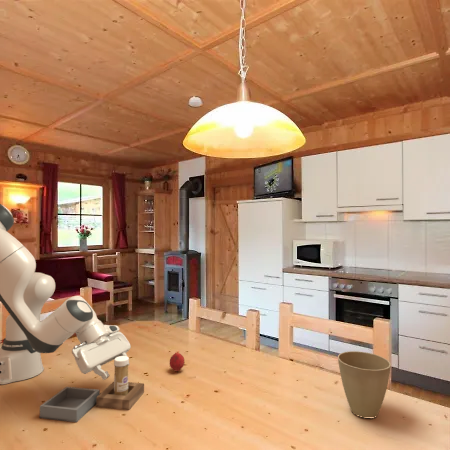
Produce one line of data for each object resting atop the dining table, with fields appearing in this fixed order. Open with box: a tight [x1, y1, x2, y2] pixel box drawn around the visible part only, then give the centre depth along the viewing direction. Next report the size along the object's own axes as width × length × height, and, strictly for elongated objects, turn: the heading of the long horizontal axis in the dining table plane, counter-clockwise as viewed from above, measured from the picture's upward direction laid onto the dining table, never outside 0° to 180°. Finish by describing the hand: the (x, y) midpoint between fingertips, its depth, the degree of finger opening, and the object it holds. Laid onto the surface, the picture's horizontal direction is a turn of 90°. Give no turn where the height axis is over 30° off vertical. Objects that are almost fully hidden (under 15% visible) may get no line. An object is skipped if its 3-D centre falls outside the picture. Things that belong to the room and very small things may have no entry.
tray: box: [39, 386, 101, 423], centre depth 100 cm, size 12×12×4 cm
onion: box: [169, 350, 185, 373], centre depth 127 cm, size 6×6×8 cm
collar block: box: [95, 381, 145, 411], centre depth 106 cm, size 11×11×3 cm
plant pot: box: [337, 350, 392, 417], centre depth 99 cm, size 15×15×16 cm
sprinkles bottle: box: [113, 355, 130, 396], centre depth 106 cm, size 5×5×13 cm
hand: (117, 372), depth 106 cm, fingers open, 8 cm apart
